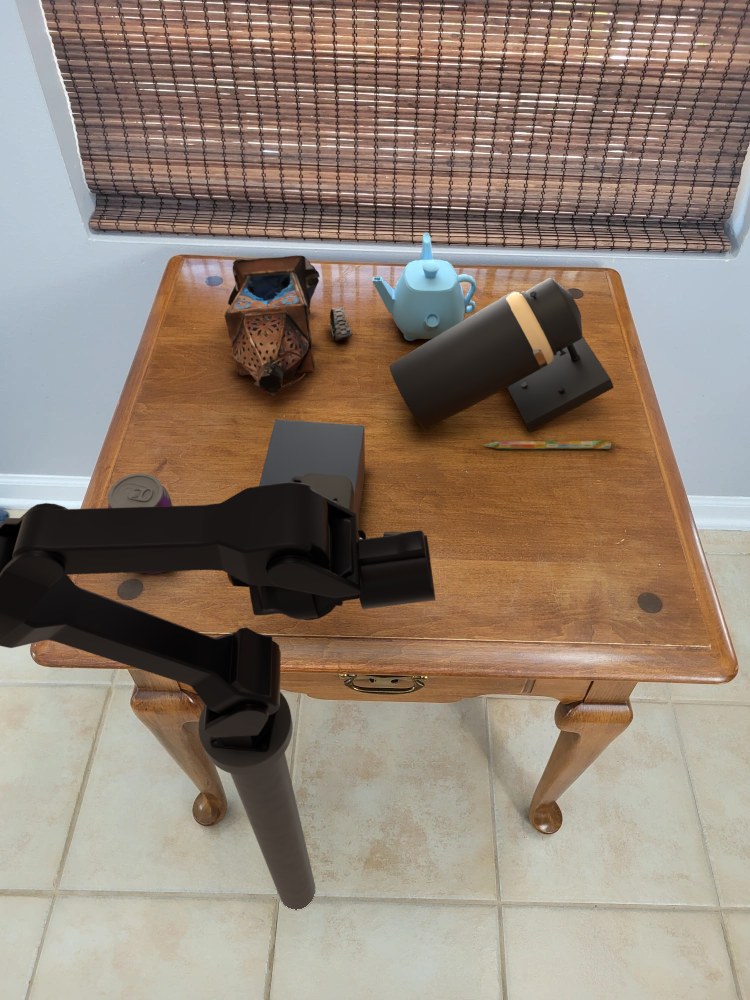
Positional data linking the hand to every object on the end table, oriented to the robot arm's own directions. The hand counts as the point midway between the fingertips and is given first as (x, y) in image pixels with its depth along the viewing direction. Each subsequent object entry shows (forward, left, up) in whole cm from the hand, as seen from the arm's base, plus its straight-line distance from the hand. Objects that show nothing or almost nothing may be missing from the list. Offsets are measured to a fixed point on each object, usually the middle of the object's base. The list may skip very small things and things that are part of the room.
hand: (335, 545), depth 83 cm
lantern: (+44, +16, -13) cm, 48 cm away
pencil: (+29, -26, -13) cm, 41 cm away
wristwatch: (+51, +6, -13) cm, 52 cm away
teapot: (+55, -7, -13) cm, 56 cm away
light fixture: (+37, -18, -13) cm, 43 cm away
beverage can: (+6, +24, -13) cm, 28 cm away
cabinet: (+15, +5, -13) cm, 20 cm away
